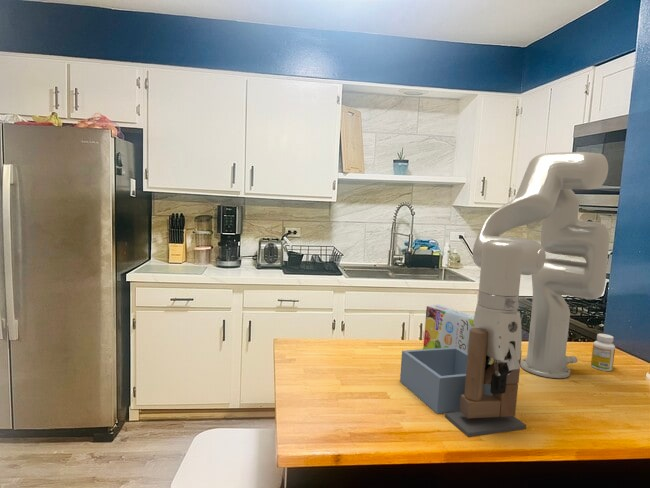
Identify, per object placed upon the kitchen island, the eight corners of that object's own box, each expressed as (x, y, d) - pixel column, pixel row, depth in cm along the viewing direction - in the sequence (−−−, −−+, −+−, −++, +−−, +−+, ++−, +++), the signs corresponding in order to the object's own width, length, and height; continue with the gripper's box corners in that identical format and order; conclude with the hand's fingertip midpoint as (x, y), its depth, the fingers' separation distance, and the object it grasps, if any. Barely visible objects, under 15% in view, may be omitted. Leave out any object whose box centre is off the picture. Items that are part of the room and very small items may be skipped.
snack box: (494, 375, 116) (499, 321, 115) (481, 379, 113) (486, 323, 112) (434, 350, 134) (437, 303, 132) (421, 353, 130) (425, 304, 129)
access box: (454, 376, 114) (456, 347, 113) (498, 406, 98) (501, 372, 97) (399, 381, 109) (402, 350, 108) (436, 413, 93) (439, 378, 92)
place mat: (499, 410, 96) (499, 406, 96) (525, 428, 89) (526, 424, 88) (444, 416, 92) (445, 413, 92) (468, 436, 84) (468, 433, 84)
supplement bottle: (599, 363, 129) (603, 332, 128) (617, 370, 124) (621, 338, 123) (586, 365, 128) (590, 333, 127) (603, 372, 122) (607, 339, 121)
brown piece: (515, 417, 89) (524, 332, 87) (467, 419, 87) (474, 332, 85) (505, 408, 92) (513, 326, 91) (458, 410, 91) (465, 327, 89)
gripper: (545, 311, 80) (535, 405, 82) (486, 291, 96) (479, 370, 98) (512, 313, 78) (503, 409, 80) (457, 292, 94) (450, 373, 96)
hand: (489, 387), depth 89 cm, fingers closed on brown piece, 4 cm apart
